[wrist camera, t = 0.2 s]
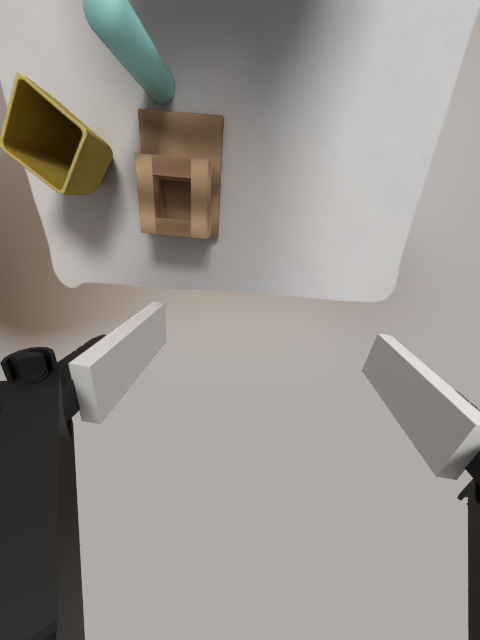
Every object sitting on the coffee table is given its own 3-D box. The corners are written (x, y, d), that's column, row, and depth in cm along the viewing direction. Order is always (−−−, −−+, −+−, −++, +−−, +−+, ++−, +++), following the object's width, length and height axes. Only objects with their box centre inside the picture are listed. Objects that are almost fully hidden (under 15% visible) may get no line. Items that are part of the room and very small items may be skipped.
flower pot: (57, 164, 35) (-5, 145, 27) (77, 108, 32) (15, 68, 24) (105, 203, 37) (62, 197, 29) (129, 153, 34) (88, 130, 26)
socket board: (141, 112, 32) (121, 93, 27) (223, 118, 31) (217, 100, 27) (149, 230, 38) (134, 231, 34) (218, 237, 38) (212, 239, 33)
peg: (145, 64, 30) (79, -28, 19) (174, 67, 30) (124, -26, 19) (147, 103, 31) (87, 39, 20) (175, 105, 31) (130, 41, 20)
